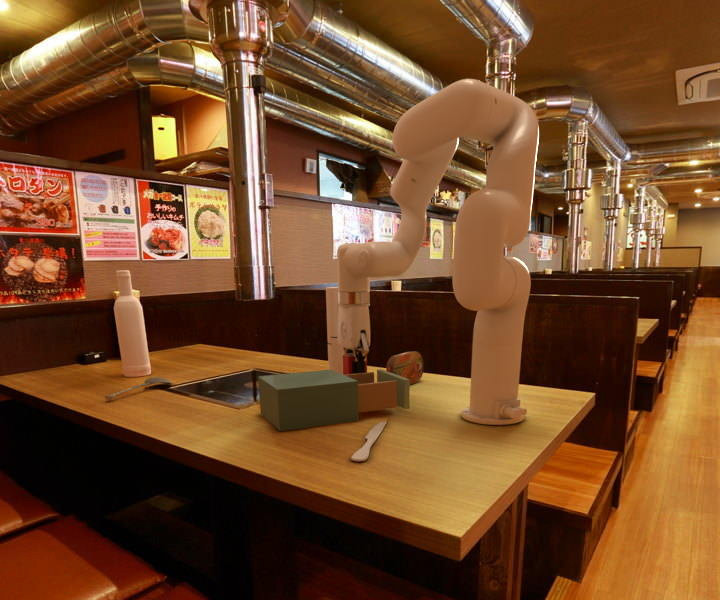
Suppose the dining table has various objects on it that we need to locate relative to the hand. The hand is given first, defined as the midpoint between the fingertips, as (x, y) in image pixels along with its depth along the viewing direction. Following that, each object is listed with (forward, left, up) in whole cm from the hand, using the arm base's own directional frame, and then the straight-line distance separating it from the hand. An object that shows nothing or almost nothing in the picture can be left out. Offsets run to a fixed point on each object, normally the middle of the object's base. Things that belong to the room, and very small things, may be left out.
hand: (355, 375), depth 137 cm
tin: (+4, -16, -5) cm, 17 cm away
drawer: (-16, +5, -4) cm, 17 cm away
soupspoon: (+28, +49, -5) cm, 57 cm away
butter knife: (-37, +13, -5) cm, 40 cm away
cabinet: (-16, +18, -5) cm, 25 cm away
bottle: (+55, +48, -5) cm, 73 cm away
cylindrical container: (+14, -2, -5) cm, 15 cm away
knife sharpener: (0, 0, -5) cm, 5 cm away
